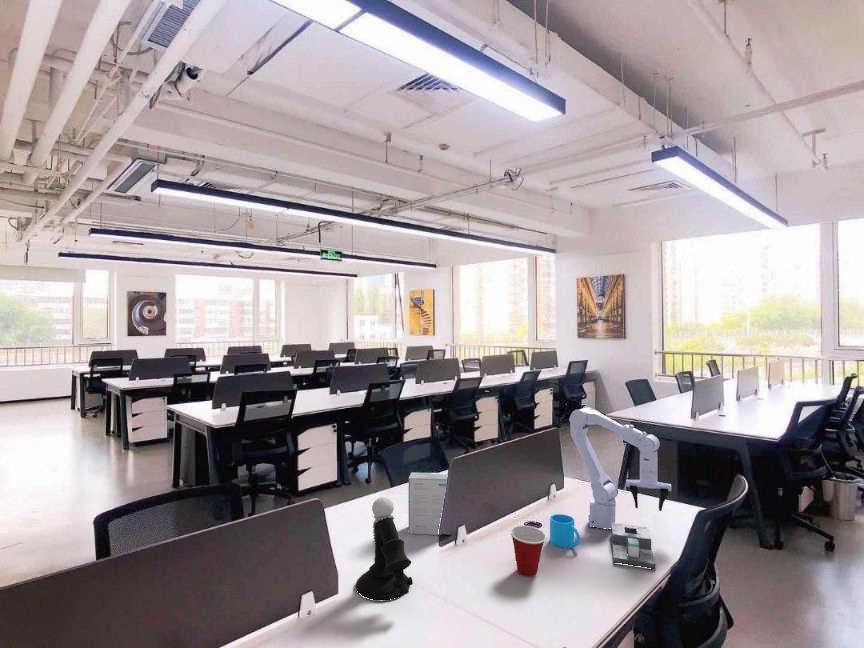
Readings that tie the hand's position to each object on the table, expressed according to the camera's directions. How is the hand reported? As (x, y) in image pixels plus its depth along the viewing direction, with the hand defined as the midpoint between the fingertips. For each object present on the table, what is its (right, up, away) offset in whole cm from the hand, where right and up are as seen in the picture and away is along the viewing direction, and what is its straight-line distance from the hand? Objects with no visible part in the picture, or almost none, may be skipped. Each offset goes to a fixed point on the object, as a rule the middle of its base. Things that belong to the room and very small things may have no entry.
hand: (648, 508), depth 174 cm
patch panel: (-10, -10, -10) cm, 18 cm away
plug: (-12, -10, -16) cm, 22 cm away
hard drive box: (-77, -10, +4) cm, 78 cm away
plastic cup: (-47, -10, -25) cm, 54 cm away
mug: (-31, -10, -6) cm, 33 cm away
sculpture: (-88, -10, -37) cm, 96 cm away
